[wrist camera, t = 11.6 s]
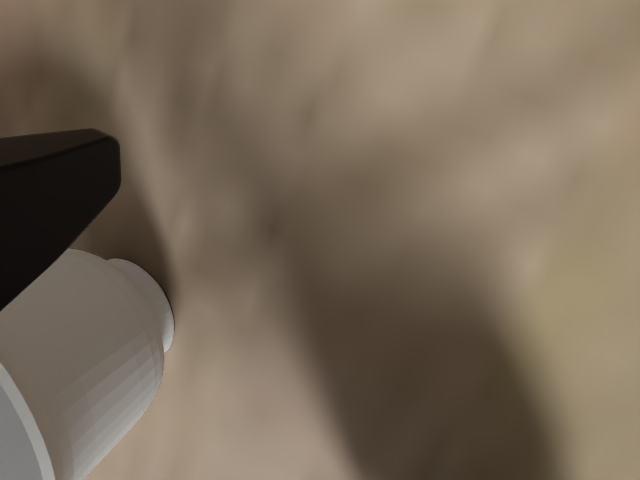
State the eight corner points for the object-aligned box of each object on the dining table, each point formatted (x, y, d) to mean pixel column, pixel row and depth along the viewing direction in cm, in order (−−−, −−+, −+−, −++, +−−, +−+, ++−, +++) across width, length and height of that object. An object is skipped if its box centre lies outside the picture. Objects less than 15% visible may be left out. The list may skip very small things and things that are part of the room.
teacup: (33, 358, 35) (-151, 464, 27) (64, 152, 27) (-178, 210, 19) (179, 479, 32) (25, 639, 24) (259, 286, 25) (75, 422, 16)
